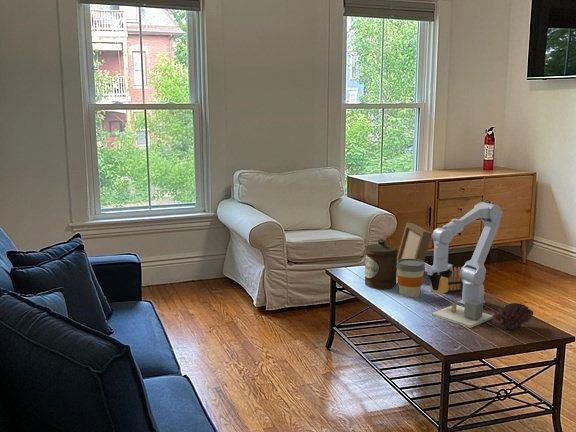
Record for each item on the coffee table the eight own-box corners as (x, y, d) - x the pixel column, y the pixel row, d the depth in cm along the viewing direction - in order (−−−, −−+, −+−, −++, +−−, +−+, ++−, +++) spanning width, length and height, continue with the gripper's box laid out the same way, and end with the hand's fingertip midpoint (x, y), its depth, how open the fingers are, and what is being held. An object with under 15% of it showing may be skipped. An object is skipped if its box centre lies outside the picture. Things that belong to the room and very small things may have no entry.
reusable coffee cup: (411, 300, 267) (412, 267, 264) (389, 293, 277) (390, 261, 274) (429, 294, 275) (431, 262, 272) (407, 287, 285) (408, 256, 282)
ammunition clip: (461, 290, 281) (463, 265, 279) (463, 291, 279) (465, 266, 277) (440, 292, 278) (441, 267, 276) (442, 293, 277) (443, 268, 274)
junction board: (454, 306, 260) (455, 289, 258) (492, 318, 246) (493, 300, 245) (431, 315, 249) (432, 297, 248) (470, 327, 236) (471, 309, 235)
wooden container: (360, 280, 296) (361, 236, 291) (389, 279, 299) (391, 235, 294) (370, 290, 282) (371, 243, 277) (401, 288, 284) (402, 242, 280)
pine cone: (523, 320, 244) (525, 296, 242) (541, 329, 235) (544, 304, 233) (487, 326, 238) (488, 301, 236) (503, 335, 229) (505, 310, 227)
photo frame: (409, 282, 292) (412, 231, 287) (393, 270, 313) (396, 222, 308) (438, 281, 295) (441, 231, 290) (421, 269, 316) (423, 221, 311)
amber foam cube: (437, 289, 259) (438, 275, 258) (447, 291, 256) (448, 278, 254) (430, 291, 256) (430, 277, 255) (440, 294, 252) (440, 280, 251)
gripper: (443, 252, 260) (441, 282, 263) (422, 258, 251) (420, 289, 254) (457, 255, 255) (455, 286, 258) (436, 261, 246) (434, 293, 249)
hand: (439, 288), depth 256 cm, fingers closed on amber foam cube, 5 cm apart
